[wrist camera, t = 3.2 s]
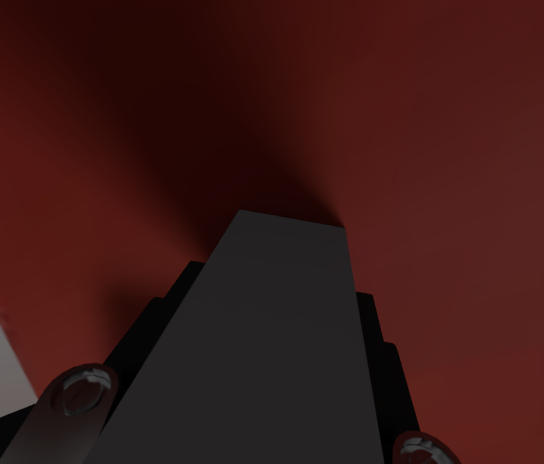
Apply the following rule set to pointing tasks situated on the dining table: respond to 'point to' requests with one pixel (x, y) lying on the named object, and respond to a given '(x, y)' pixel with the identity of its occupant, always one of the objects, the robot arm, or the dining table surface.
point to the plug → (256, 360)
